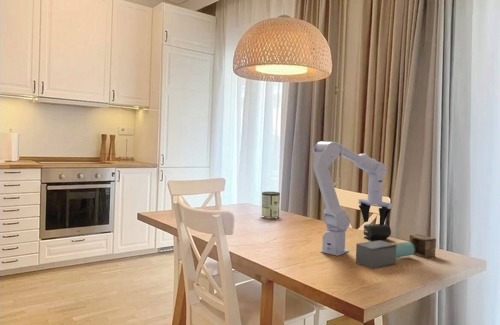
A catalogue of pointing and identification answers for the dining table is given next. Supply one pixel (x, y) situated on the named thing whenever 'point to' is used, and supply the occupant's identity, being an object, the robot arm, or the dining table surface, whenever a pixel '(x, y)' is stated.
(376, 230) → the end cap
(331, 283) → the dining table surface
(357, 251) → the grey rectangular box
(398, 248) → the tube
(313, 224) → the dining table surface
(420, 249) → the socket block
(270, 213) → the coffee can
